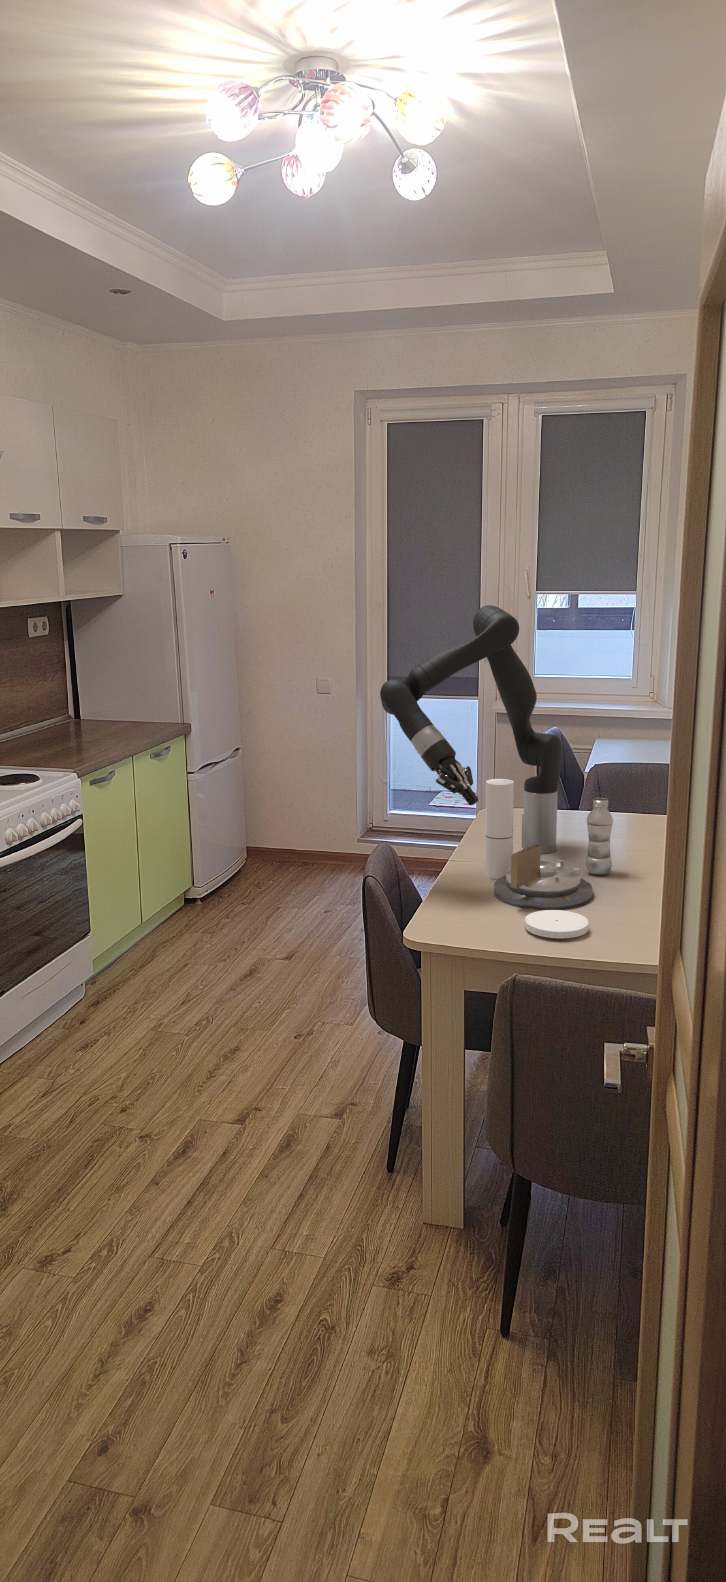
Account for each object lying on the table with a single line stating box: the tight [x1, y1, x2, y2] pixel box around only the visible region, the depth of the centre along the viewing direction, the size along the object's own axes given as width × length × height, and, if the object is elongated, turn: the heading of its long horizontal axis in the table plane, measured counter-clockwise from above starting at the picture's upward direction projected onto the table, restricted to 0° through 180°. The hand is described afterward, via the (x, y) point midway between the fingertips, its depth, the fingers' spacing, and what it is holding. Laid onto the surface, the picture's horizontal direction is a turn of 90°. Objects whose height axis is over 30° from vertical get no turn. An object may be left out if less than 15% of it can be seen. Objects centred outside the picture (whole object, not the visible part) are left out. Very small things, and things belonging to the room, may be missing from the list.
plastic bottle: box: [585, 797, 614, 876], centre depth 269 cm, size 6×7×20 cm
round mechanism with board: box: [506, 844, 581, 897], centre depth 253 cm, size 23×18×11 cm
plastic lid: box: [524, 909, 590, 939], centre depth 233 cm, size 14×14×2 cm
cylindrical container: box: [484, 778, 515, 880], centre depth 270 cm, size 7×7×25 cm
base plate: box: [493, 876, 594, 911], centre depth 257 cm, size 24×24×2 cm
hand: (474, 802), depth 251 cm, fingers closed
